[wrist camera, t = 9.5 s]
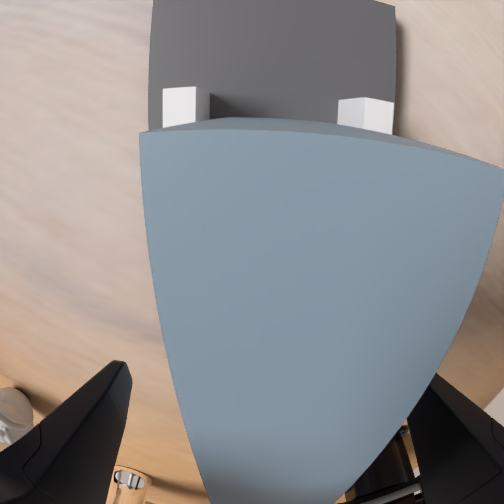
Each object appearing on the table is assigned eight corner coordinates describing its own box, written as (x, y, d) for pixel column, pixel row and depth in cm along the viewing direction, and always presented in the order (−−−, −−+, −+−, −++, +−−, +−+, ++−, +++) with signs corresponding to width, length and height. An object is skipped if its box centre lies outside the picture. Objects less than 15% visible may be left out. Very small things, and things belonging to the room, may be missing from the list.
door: (336, 123, 11) (534, 180, 2) (300, 376, 17) (320, 526, 8) (229, 116, 11) (140, 132, 2) (230, 376, 17) (221, 529, 8)
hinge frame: (384, 13, 9) (428, -14, 6) (319, 411, 21) (327, 456, 17) (162, -1, 9) (129, -37, 5) (190, 410, 21) (183, 455, 17)
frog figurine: (49, 400, 22) (24, 452, 16) (39, 417, 24) (19, 461, 18) (2, 363, 20) (-28, 412, 14) (-1, 386, 22) (-25, 428, 16)
